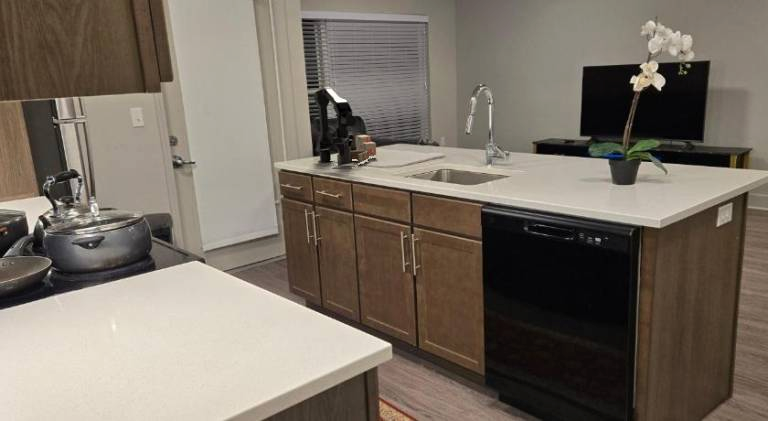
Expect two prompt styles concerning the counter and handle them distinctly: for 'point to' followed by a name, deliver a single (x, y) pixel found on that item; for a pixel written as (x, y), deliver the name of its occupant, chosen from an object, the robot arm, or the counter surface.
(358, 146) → the stack of blocks
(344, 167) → the mat
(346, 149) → the supplement bottle
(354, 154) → the open box
